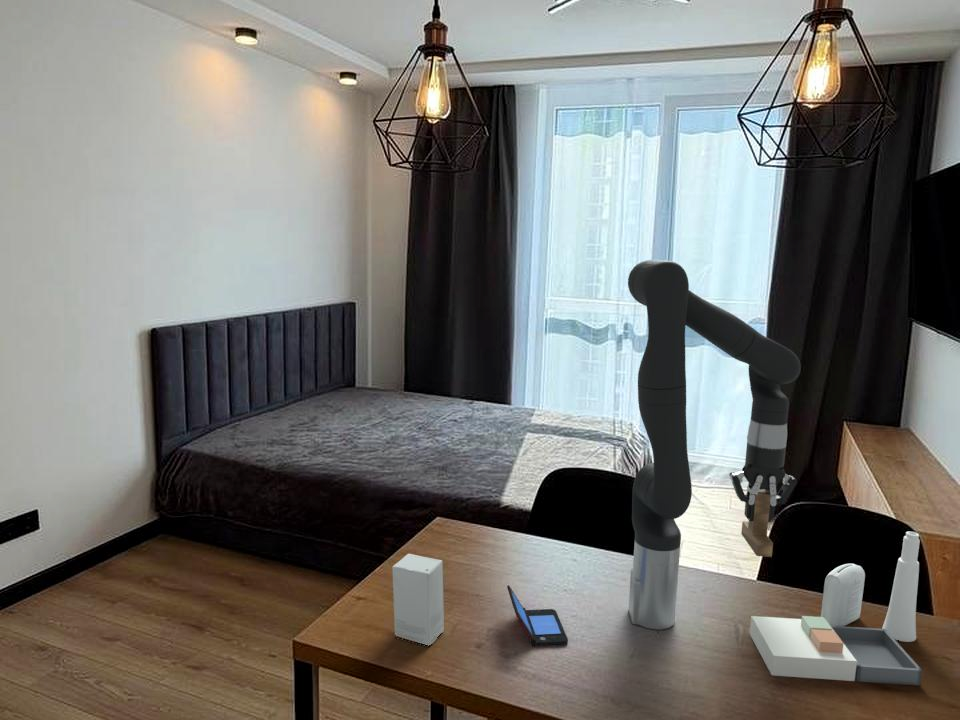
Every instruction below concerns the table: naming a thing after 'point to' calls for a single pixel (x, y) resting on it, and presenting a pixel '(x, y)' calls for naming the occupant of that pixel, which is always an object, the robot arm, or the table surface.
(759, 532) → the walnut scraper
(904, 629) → the cosmetic bottle
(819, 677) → the off-white plate
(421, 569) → the skincare box
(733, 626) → the table surface
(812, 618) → the sage-green tile
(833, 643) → the terracotta tile
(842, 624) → the photo printer
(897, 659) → the box
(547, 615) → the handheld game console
